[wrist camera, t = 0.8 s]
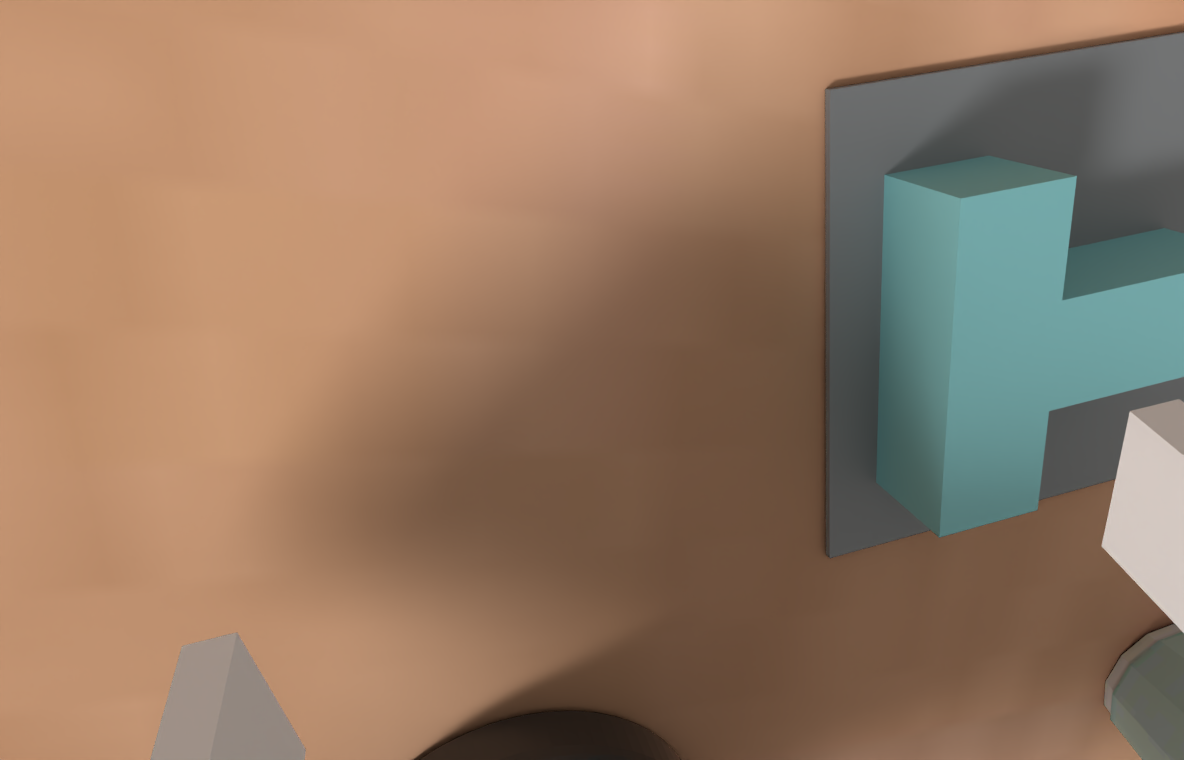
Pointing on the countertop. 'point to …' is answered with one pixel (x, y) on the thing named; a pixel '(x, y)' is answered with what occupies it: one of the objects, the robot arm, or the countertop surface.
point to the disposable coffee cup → (1150, 695)
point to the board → (1013, 132)
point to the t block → (1005, 332)
